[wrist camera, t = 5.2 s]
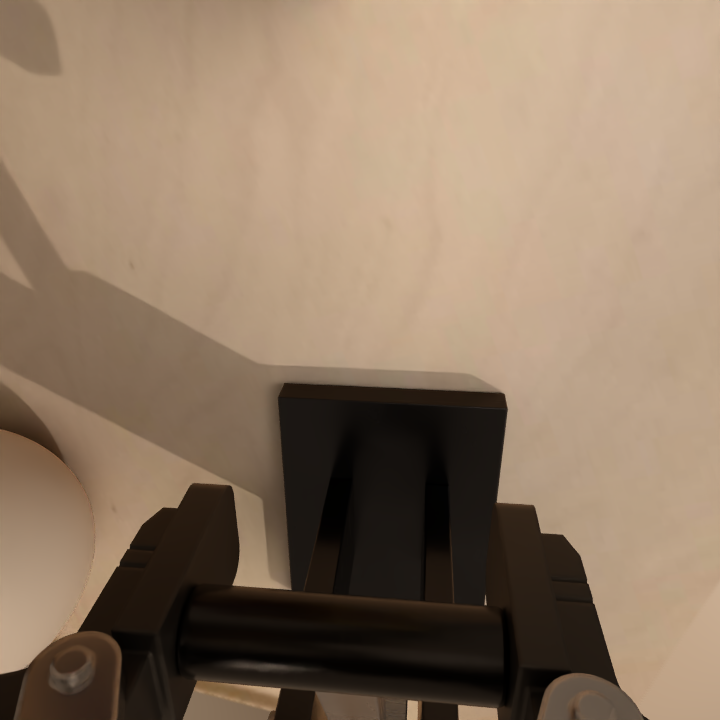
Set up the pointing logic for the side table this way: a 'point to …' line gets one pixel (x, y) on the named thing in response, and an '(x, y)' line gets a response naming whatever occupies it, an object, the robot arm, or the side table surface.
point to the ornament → (39, 548)
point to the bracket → (388, 499)
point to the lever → (346, 648)
